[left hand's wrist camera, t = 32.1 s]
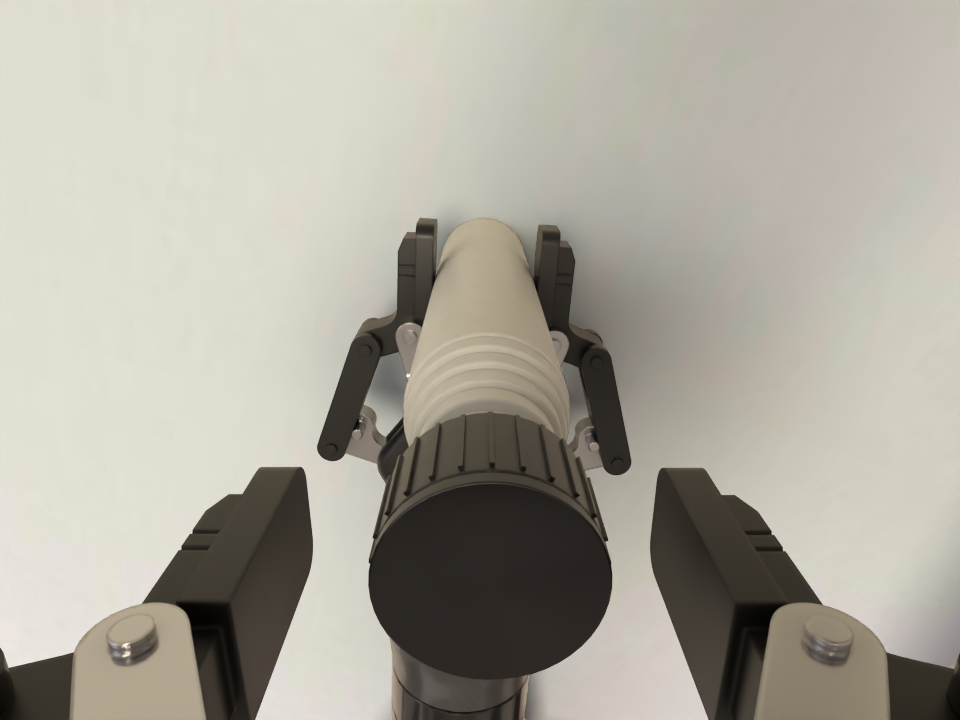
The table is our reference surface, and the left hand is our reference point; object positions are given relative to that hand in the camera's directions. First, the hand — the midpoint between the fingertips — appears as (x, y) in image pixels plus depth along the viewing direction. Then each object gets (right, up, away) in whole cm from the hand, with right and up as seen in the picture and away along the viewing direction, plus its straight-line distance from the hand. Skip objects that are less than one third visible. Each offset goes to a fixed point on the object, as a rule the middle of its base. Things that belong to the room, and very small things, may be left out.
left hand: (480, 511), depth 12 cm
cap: (0, -1, -2) cm, 2 cm away
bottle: (0, +8, +21) cm, 22 cm away
